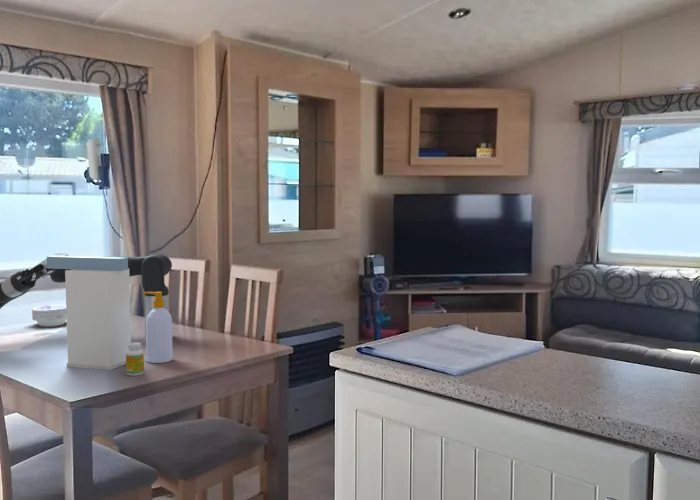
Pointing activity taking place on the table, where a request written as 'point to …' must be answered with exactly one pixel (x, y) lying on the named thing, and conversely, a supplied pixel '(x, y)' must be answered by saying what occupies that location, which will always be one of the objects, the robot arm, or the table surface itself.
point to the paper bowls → (50, 315)
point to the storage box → (97, 318)
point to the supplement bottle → (134, 359)
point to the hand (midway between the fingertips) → (51, 264)
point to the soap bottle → (159, 332)
